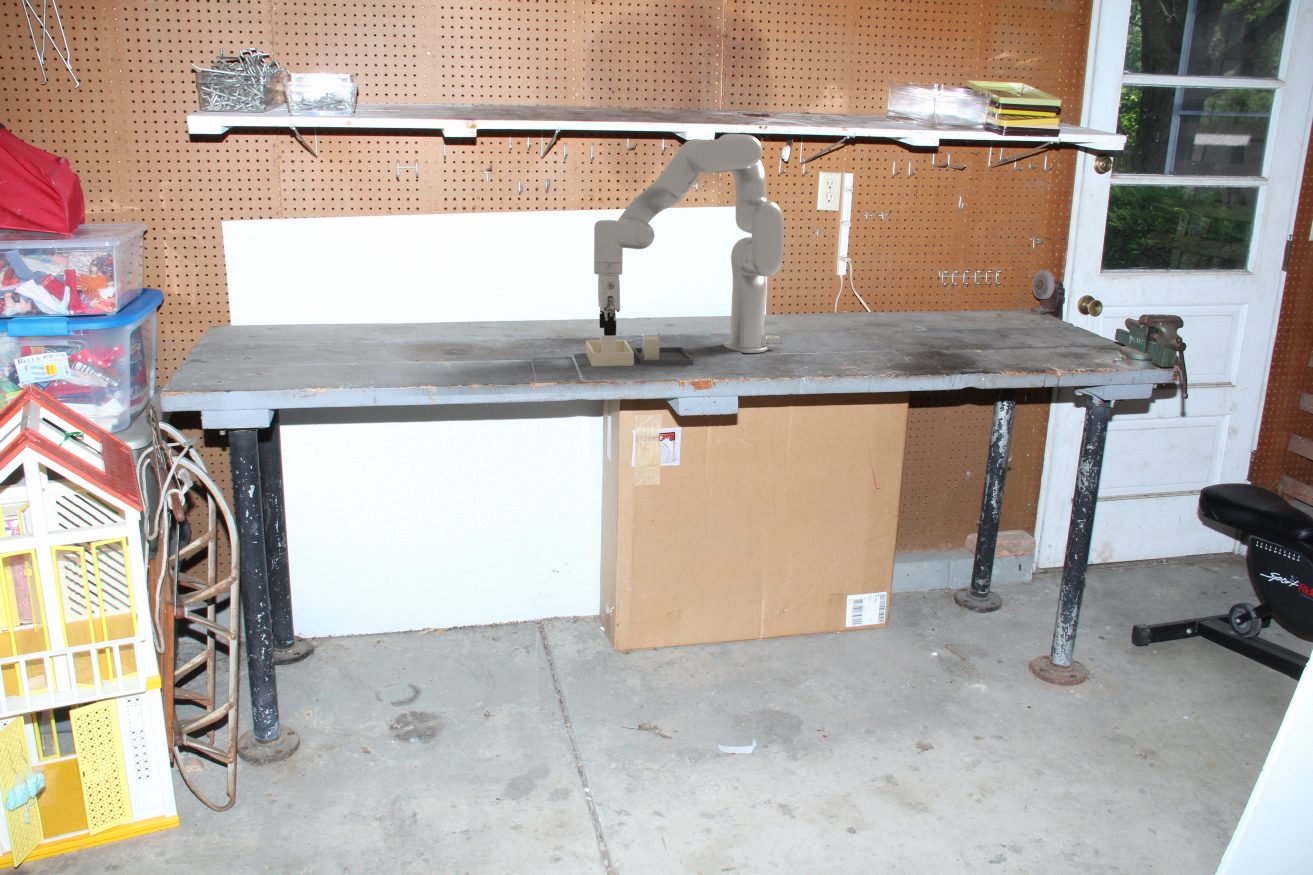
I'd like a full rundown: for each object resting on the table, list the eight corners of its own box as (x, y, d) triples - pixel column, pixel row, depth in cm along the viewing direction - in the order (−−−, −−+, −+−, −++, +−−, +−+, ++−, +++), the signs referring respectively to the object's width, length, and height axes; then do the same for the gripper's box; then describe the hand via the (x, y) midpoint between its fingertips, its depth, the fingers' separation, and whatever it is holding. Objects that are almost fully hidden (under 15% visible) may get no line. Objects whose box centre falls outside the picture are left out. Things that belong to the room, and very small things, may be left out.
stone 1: (614, 354, 269) (614, 332, 267) (616, 357, 265) (616, 335, 263) (599, 354, 268) (599, 333, 267) (601, 357, 265) (601, 336, 263)
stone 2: (656, 357, 266) (656, 336, 264) (658, 361, 263) (659, 339, 261) (641, 358, 266) (642, 336, 264) (644, 361, 262) (644, 339, 260)
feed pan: (681, 353, 274) (681, 346, 274) (692, 366, 260) (693, 359, 260) (632, 354, 272) (632, 347, 271) (641, 367, 258) (641, 360, 257)
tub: (625, 354, 272) (625, 340, 270) (633, 367, 258) (633, 352, 256) (585, 354, 270) (585, 340, 269) (591, 368, 256) (592, 353, 255)
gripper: (627, 273, 252) (626, 338, 257) (617, 263, 268) (617, 325, 273) (598, 273, 251) (597, 338, 256) (590, 263, 267) (590, 325, 272)
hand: (607, 331), depth 265 cm, fingers open, 9 cm apart
